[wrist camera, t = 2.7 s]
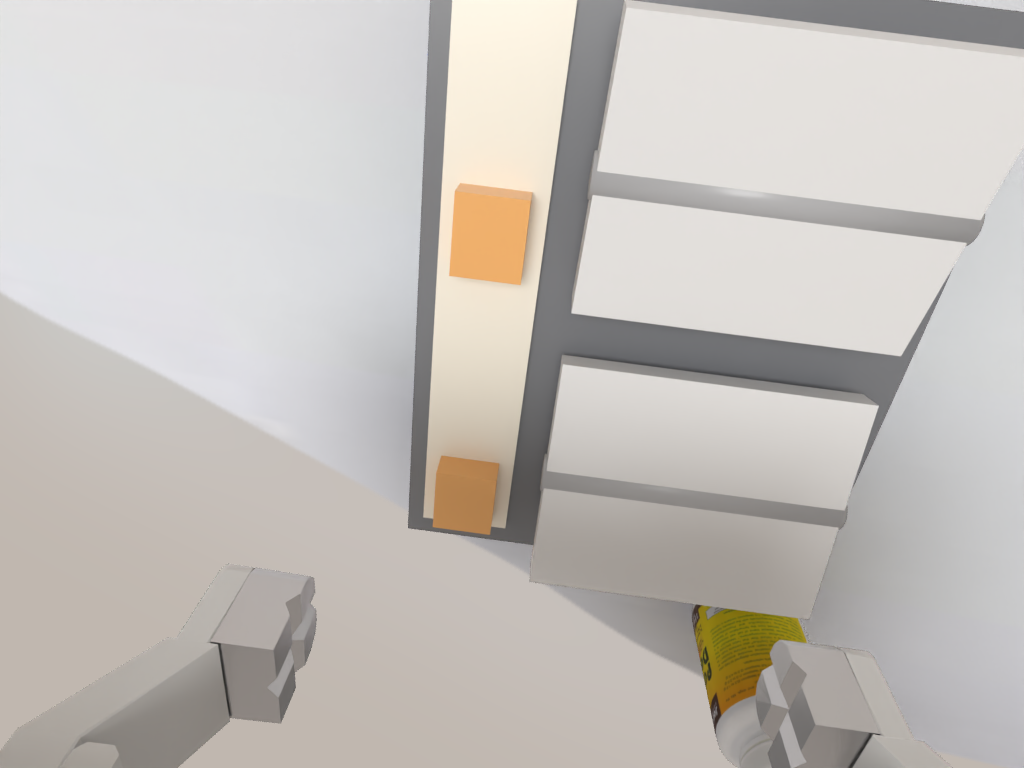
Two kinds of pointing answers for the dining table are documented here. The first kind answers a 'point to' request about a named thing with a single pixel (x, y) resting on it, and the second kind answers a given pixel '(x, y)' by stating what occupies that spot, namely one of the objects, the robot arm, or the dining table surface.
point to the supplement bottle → (739, 674)
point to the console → (567, 245)
